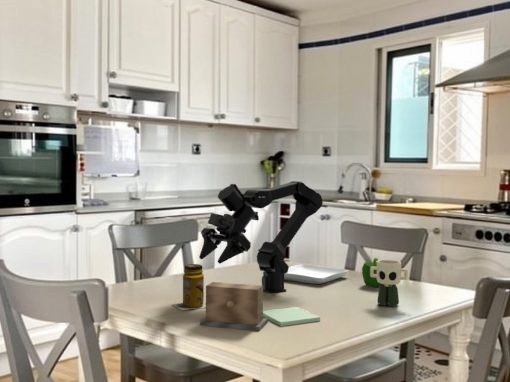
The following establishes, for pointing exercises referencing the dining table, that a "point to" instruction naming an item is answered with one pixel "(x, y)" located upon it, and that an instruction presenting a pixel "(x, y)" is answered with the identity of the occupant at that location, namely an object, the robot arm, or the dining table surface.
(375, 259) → the bell pepper
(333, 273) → the salad plate
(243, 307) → the walnut unit
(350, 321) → the dining table surface
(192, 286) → the condiment
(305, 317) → the sage pad
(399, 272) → the character mug
